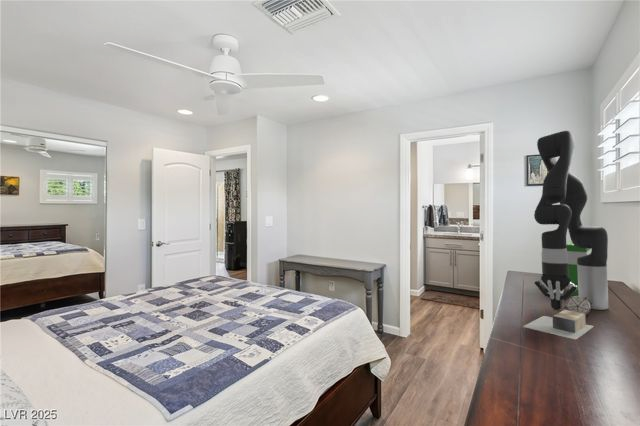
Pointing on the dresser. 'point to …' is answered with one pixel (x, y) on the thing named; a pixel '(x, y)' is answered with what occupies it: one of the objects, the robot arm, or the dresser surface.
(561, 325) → the maple block
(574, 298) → the game die
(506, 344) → the dresser surface
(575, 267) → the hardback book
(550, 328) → the felt mat
